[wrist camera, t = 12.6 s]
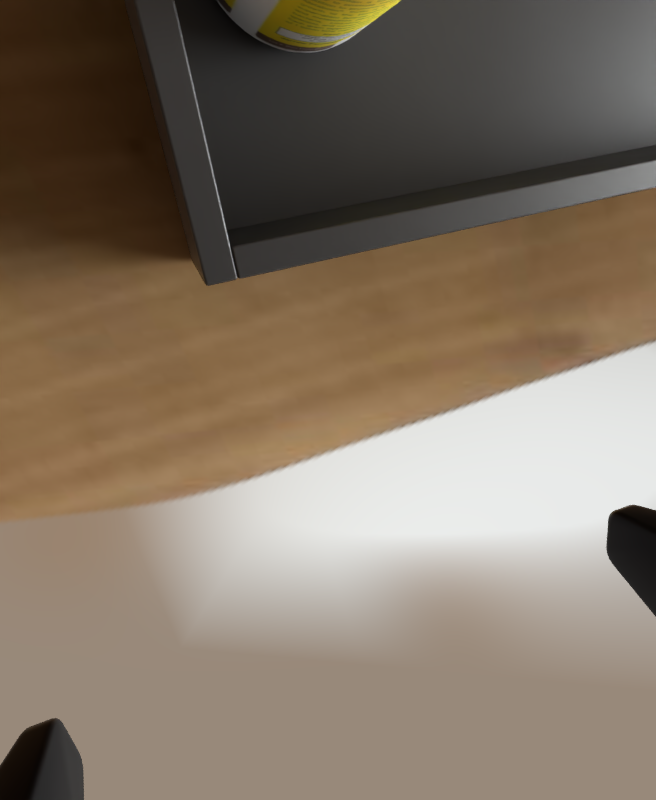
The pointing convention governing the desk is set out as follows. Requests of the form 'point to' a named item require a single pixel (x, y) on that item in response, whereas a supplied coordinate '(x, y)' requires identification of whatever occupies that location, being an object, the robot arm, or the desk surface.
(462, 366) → the desk surface
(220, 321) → the desk surface
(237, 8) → the supplement bottle
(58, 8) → the desk surface
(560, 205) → the black rectangular tray
